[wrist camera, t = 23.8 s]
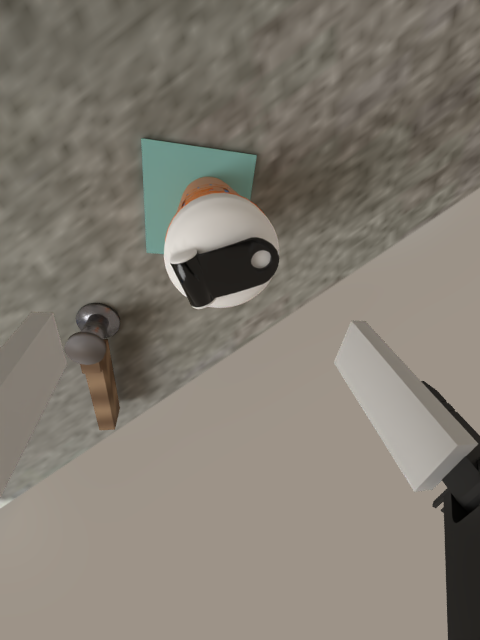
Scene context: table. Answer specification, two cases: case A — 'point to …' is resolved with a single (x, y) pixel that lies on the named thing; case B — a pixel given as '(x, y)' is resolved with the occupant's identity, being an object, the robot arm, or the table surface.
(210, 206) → the shaker bottle
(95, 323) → the grey curved piece
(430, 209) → the table surface
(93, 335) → the bar
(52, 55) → the table surface
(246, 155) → the mat
